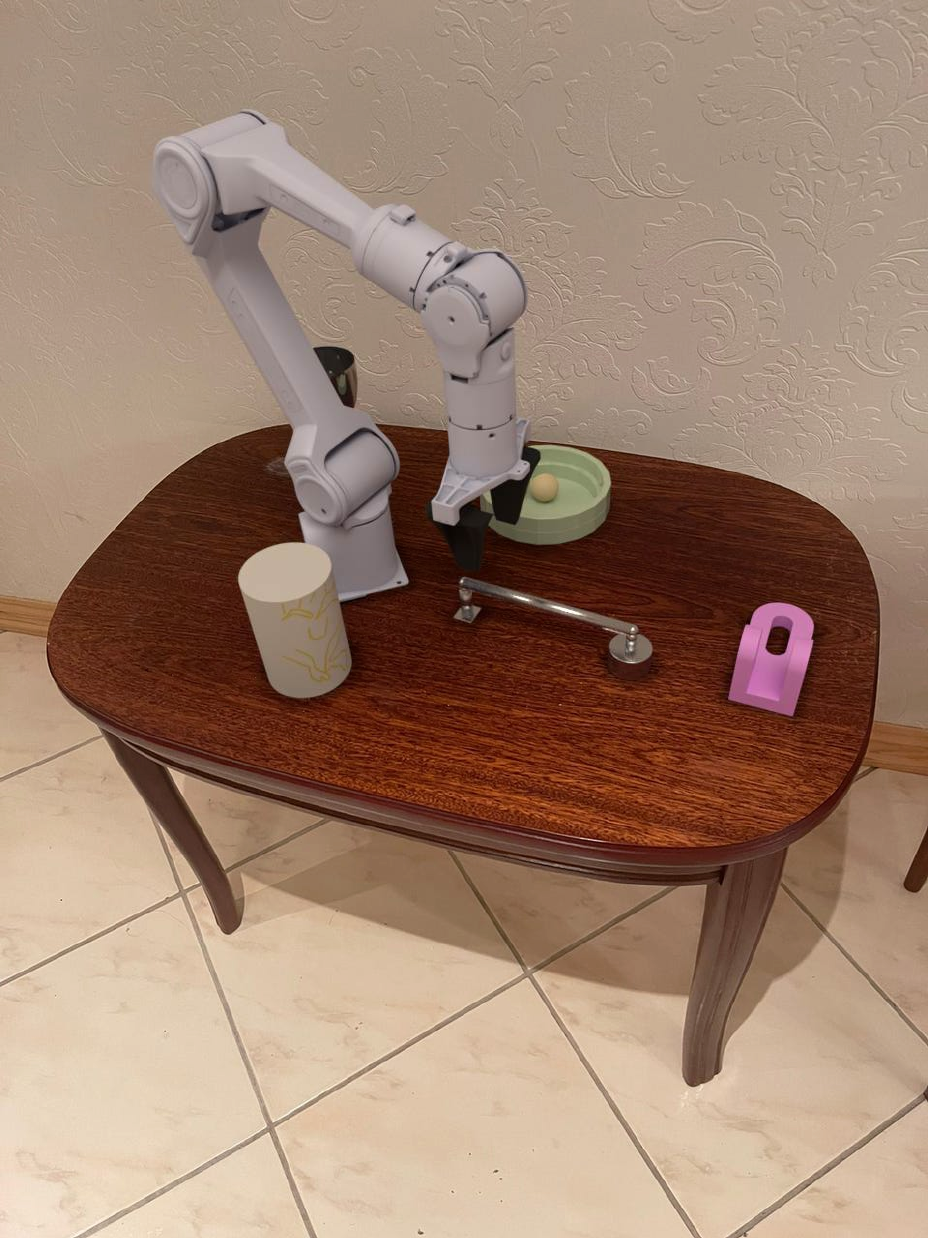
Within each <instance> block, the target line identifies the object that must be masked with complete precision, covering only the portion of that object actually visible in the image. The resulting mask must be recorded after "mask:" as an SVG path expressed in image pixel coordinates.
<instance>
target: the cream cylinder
mask: <svg viewBox="0 0 928 1238" xmlns="http://www.w3.org/2000/svg"><path fill="white" fill-rule="evenodd" d="M237 581H238V585H239V586H238V587H239V589H240V592H241V597H242V598H243V599H242V600H243V601H244V605H245V609H246V611H247V615H248V618H249V622H250V625H251V628H252V631H253V634H254V637H255V640H256V644H257V647H258V650H259V654H260V657H261V660H262V664H263V666H264V669H265V670H264V671H265V673H266V676H267V681H268V682H269V684H270V686H271V687H272V688H273V689H274V690H275V691H276V692H278V694H281V695H283V696H286V697H288V698H289V697H290V698H296V699H307V698H308V699H309V698H314V697H319V696H322V695H324V694H328V693H329V692H331V691H333V690H334V689H336V688H337V687H339V686H340V685H341V684H342V683H343V682H344V681H345V680H346V679H347V677H348V675H349V674H350V672H351V668H352V663H353V662H352V661H353V660H352V655H351V650H350V646H349V640H348V637H347V631H346V626H345V622H344V618H343V614H342V608H341V602H339V598H338V593H337V589H336V584H335V579H334V574H333V570H332V565H331V561H330V558H329V556H328V555H327V554H326V553H325V552H324V551H323V550H322V549H320V548H318V547H316V546H314V545H311V544H306V543H305V542H284V543H283V542H282V543H278V544H274V545H272V546H268V547H266V548H263V549H261V550H259V551H258V552H256V553H254V554H253V555H252V556H251V557H249V558H248V559H247V560H246V561H245V562H244V563H243V565H242V566H241V567H240V569H239V572H238V576H237Z"/></svg>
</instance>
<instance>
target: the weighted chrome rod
mask: <svg viewBox="0 0 928 1238" xmlns="http://www.w3.org/2000/svg"><path fill="white" fill-rule="evenodd" d="M458 585H459V586H458V588H459V589H458V590H459V599H460V600H459V602H460V608H458V610H457V611H456V613H455V614H454V616H453V620H458V621H461V622H464V623H467V624H472V623H473V622H474V621H475V619H476V617H477V616H478V615H479V613H480V612H481V610H482V607H480V606H476V605H474V602H473V593H477V594H479V595H483V596H486V597H490V598H494V599H497V600H501V601H504V602H507V603H511V604H514V605H518V606H520V607H521V606H522V607H525V608H528V609H532V610H536V611H538V612H542V613H546V614H549V615H553V616H556V617H559V618H562V619H566V620H570V621H573V622H576V623H581V624H584V625H587V626H591V627H594V628H598V629H601V630H605V631H607V632H610V633H615V634H617V635H615V636H614V637H612V638H611V639H610V641H609V643H608V650H607V651H608V652H607V669H608V670H609V672H610V673H611V674H612V676H614V677H616V678H618V679H620V680H624V681H638V680H642V679H643V678H645V677H646V676H647V675H648V674H649V673H650V671H651V669H652V668H651V667H652V662H653V661H652V660H653V651H654V647H653V645H652V642H651V641H650V639H649V638H647V637H646V636H644V635H642V634H639V633H640V629H639V627H638V625H637V624H635V623H631V622H628V621H624V620H620V619H617V618H613V617H610V616H606V615H603V614H600V613H595V612H593V611H588V610H585V609H581V608H579V607H575V606H571V605H568V604H564V603H560V602H557V601H554V600H550V599H546V598H542V597H539V596H535V595H533V594H528V593H525V592H521V591H518V590H514V589H510V588H507V587H503V586H501V585H500V586H499V585H497V584H493V583H489V582H486V581H482V580H479V579H475V578H471V577H468V576H462V577H461V578H459V580H458Z"/></svg>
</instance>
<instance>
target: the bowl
mask: <svg viewBox="0 0 928 1238" xmlns="http://www.w3.org/2000/svg"><path fill="white" fill-rule="evenodd" d="M528 447H531V448H535V449H537V450H539V451H540V453H541V459H540V461H539V463H538V464H537V466H536V468H535V470H534V472H533V474H532V476H531V478H530V485H529V488H528V489H527V491H526V493H525V497H524V501H523V506H522V510H521V514H520V517H519V520H518V522H517V524H516V525H512V524H508V523H505V522H501V521H497V520H496V518H495V516H494V515H493V517H492V518H491V520H490V522H489V525H488V527H489V528H491V529H492V530H493V531H495V533H497V534H498V535H499V536H503V537H505V538H507V539H510V540H512V541H514V542H517V543H524V544H530V545H535V546H536V545H537V546H543V545H544V546H545V545H560V544H565V543H568V542H572V541H573V542H574V541H578V540H580V539H582V538H584V537H586V536H588V535H590V534H592V533H594V532H595V531H596V530H597V529H599V528H600V527H601V525H603V524H604V522H605V521H606V520H607V517H608V514H609V511H610V508H611V493H612V492H611V491H612V480H611V474H610V471H609V469H608V468H607V467H606V466H605V464H604V463H603V462H602V461H601V460H600V459H598V458H597V457H595V456H594V455H591V454H590V453H588V452H587V451H583V450H581V449H578V448H575V447H570V446H563V445H555V444H538V445H537V444H535V445H528ZM543 473H547V474H551V475H553V476H554V477H555V478H556V479H557V481H558V483H559V491H558V494H557V495H556V497H555V498H554V499H552V500H550V501H546V502H544V501H540V500H538V499H536V498H535V497H534V495H533V494H532V491H531V484H532V482H533V480H534V478H535V477H536V476H538V475H540V474H543ZM479 501H480V502H479V503H480V510H481V511H484V512H488V513H492V514H494V512H493V507H492V500H491V493H490V490H489V491H487V492H486V493H484V494H482V495H480V496H479Z"/></svg>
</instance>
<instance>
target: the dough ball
mask: <svg viewBox="0 0 928 1238" xmlns="http://www.w3.org/2000/svg"><path fill="white" fill-rule="evenodd" d="M531 491H532V494H533V495H534V497H535V498H536V499H538V500H540V501H544V502H546V501H550V500H552V499H554V498H555V497H556V495H557V494H558V491H559V483H558V481H557V479H556V478H555V477H554V476H553V475H551V474H547V473H543V474H540V475H538V476H536V477H535V478H534V480H533V482H532V484H531Z"/></svg>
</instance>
